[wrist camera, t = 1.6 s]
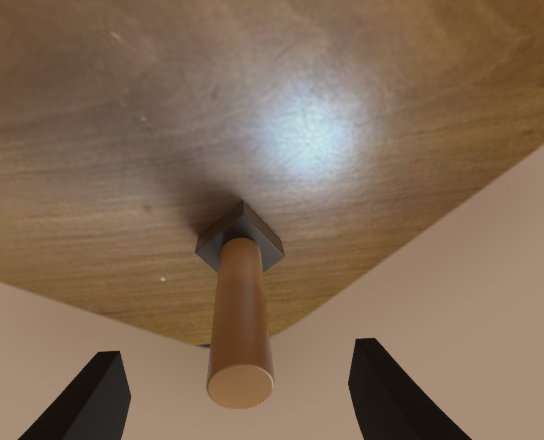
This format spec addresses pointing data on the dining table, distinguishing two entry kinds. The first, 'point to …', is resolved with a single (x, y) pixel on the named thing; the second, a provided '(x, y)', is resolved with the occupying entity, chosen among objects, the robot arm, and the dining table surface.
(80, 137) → the dining table surface
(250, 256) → the wooden handle stamp
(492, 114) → the dining table surface
